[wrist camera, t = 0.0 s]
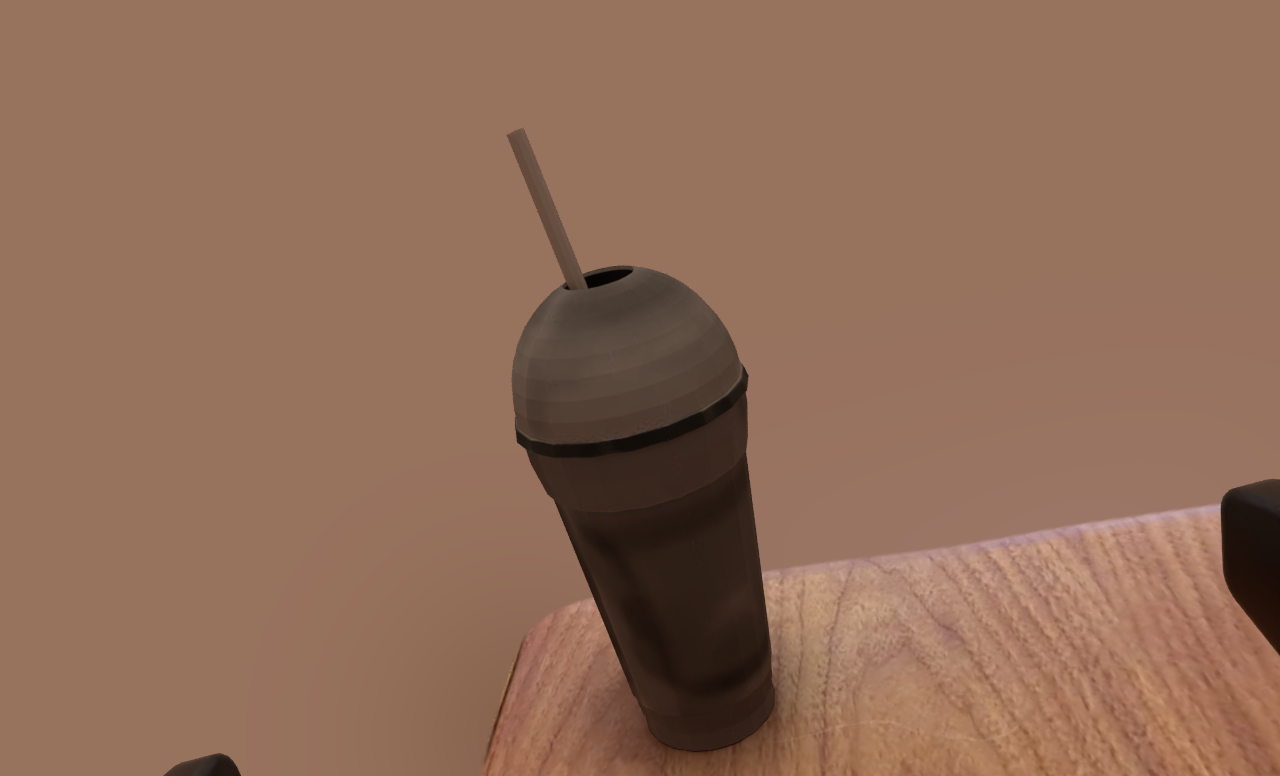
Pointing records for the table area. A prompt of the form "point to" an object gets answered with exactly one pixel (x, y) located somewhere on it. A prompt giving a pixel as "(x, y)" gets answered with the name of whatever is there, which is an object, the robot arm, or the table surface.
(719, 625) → the beverage cup
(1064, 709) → the table surface
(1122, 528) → the table surface
